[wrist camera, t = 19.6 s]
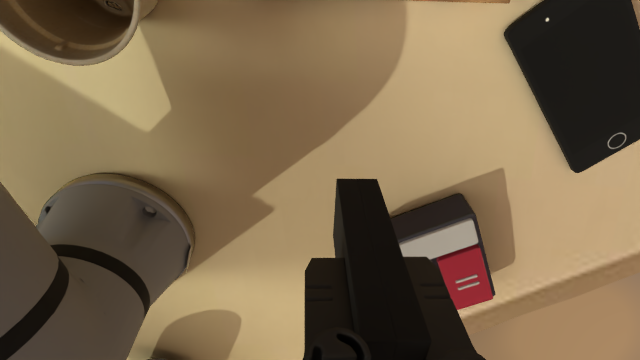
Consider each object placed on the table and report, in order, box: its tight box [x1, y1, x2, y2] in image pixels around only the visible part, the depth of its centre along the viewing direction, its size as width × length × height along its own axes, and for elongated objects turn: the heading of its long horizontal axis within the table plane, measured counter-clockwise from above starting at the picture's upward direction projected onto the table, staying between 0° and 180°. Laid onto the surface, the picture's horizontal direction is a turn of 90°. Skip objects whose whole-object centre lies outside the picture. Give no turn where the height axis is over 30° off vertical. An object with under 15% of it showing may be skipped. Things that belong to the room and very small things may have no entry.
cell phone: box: [504, 0, 640, 173], centre depth 31 cm, size 9×18×1 cm, turn 39°
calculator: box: [391, 194, 495, 310], centre depth 41 cm, size 11×4×15 cm
